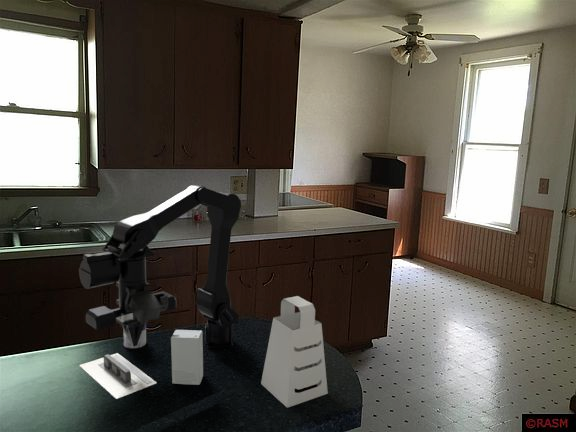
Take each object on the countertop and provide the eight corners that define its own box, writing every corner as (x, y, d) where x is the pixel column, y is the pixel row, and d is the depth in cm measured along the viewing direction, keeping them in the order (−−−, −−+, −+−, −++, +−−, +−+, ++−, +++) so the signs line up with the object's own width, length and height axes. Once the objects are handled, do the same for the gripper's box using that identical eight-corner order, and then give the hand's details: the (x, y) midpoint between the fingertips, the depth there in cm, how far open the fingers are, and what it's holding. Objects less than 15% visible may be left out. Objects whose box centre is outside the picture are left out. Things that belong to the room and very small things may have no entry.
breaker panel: (117, 358, 111) (117, 352, 110) (157, 389, 99) (157, 382, 98) (79, 371, 104) (79, 364, 104) (116, 405, 92) (116, 398, 92)
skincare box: (203, 380, 103) (204, 329, 101) (199, 391, 98) (200, 338, 96) (175, 379, 103) (175, 328, 101) (170, 390, 98) (170, 336, 96)
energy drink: (148, 344, 119) (148, 299, 117) (142, 354, 114) (142, 307, 111) (127, 343, 119) (126, 299, 117) (120, 353, 113) (119, 307, 111)
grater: (299, 371, 108) (303, 290, 105) (327, 393, 100) (333, 305, 96) (260, 383, 102) (263, 297, 99) (287, 407, 94) (291, 314, 90)
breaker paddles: (109, 363, 105) (108, 353, 105) (130, 381, 98) (130, 370, 98) (103, 365, 104) (103, 355, 104) (125, 383, 97) (125, 372, 97)
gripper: (107, 298, 88) (110, 373, 91) (190, 278, 102) (190, 345, 104) (83, 283, 96) (86, 353, 99) (163, 267, 109) (164, 329, 112)
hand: (134, 345), depth 103 cm, fingers closed
